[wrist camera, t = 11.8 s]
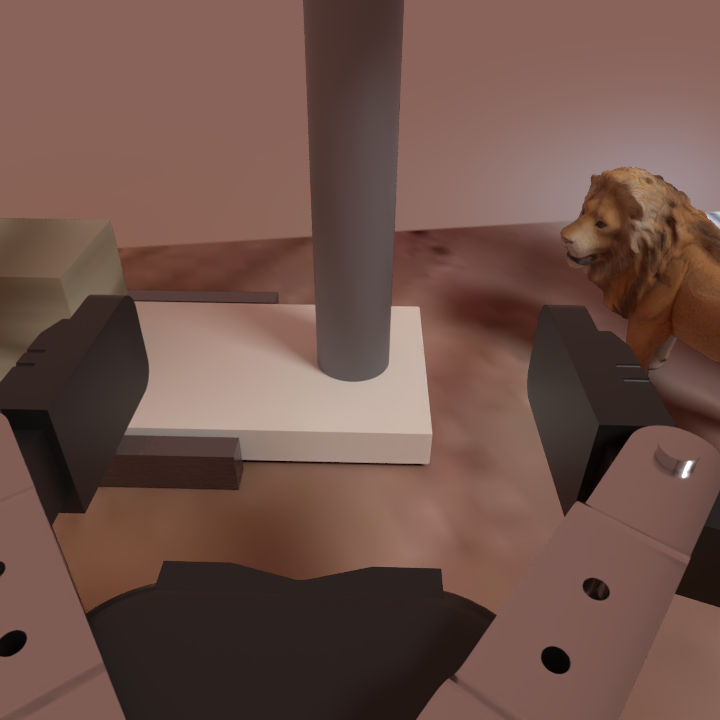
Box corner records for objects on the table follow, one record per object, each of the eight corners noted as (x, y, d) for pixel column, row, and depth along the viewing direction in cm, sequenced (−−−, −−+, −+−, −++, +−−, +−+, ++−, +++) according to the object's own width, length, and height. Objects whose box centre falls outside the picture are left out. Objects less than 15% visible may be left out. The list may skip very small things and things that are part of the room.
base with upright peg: (417, 333, 31) (443, -41, 22) (429, 464, 23) (477, -19, 15) (13, 325, 31) (-124, -47, 22) (-99, 452, 24) (-372, -27, 15)
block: (135, 323, 29) (110, 219, 26) (94, 392, 24) (60, 277, 22) (26, 321, 29) (-11, 217, 26) (-33, 389, 25) (-84, 275, 22)
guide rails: (280, 319, 32) (277, 292, 31) (238, 489, 23) (233, 457, 22) (-30, 313, 32) (-41, 286, 31) (-199, 479, 23) (-222, 446, 22)
